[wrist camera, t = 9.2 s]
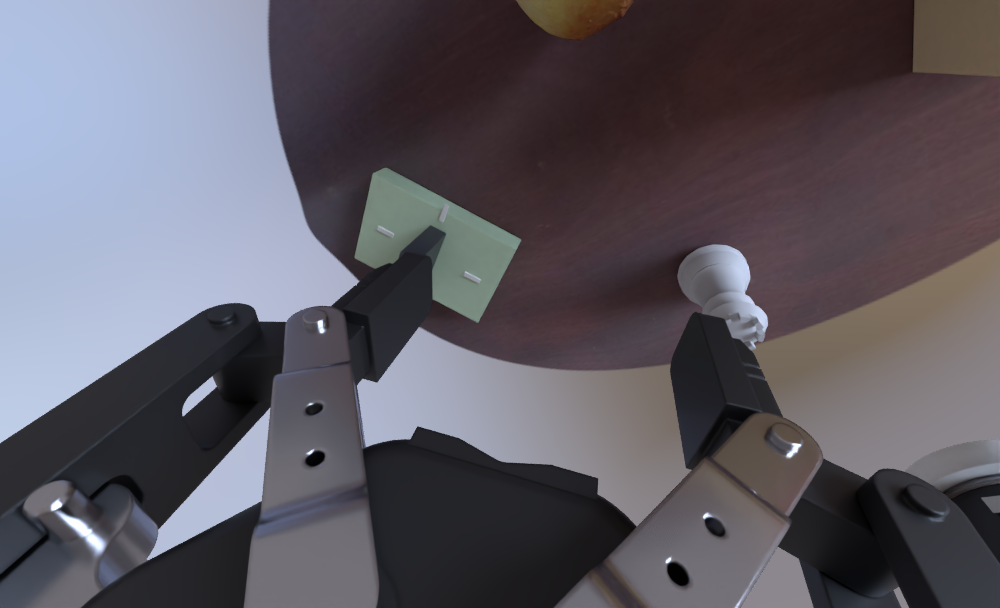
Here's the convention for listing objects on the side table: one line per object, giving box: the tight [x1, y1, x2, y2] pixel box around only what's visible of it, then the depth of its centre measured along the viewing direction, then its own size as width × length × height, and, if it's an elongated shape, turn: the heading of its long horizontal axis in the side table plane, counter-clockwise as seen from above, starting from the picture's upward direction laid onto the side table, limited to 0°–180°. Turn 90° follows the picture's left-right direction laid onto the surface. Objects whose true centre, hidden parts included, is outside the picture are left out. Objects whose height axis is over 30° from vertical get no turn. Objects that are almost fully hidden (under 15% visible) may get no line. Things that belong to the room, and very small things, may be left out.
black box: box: [398, 225, 446, 270], centre depth 28 cm, size 5×1×5 cm, turn 156°
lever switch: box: [354, 168, 521, 323], centre depth 31 cm, size 12×9×2 cm
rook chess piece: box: [677, 244, 768, 350], centre depth 24 cm, size 4×4×8 cm
